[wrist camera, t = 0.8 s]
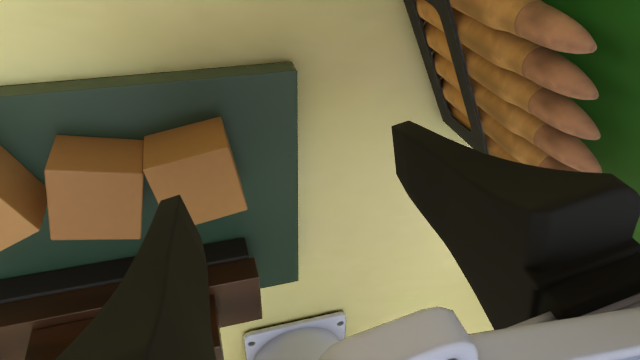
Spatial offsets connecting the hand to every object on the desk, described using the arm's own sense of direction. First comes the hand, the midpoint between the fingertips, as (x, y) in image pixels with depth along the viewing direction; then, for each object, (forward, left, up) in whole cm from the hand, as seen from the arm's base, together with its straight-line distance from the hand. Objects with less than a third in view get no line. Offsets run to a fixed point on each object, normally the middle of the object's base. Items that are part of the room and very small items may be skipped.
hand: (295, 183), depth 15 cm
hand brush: (-12, +8, -9) cm, 17 cm away
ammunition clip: (+1, -10, -10) cm, 15 cm away
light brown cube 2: (-4, +8, -9) cm, 12 cm away
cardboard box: (-4, +3, -9) cm, 10 cm away
